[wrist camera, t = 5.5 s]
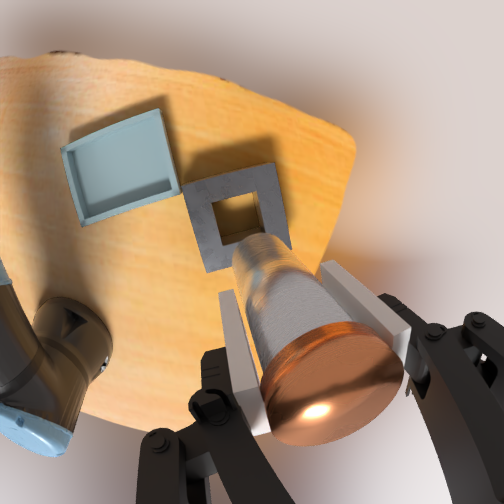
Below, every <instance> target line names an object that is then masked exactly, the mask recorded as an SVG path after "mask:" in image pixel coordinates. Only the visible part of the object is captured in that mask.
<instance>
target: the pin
mask: <svg viewBox="0 0 504 504" xmlns="http://www.w3.org/2000/svg"><path fill="white" fill-rule="evenodd" d="M232 267H233V271H234V274H235V278H236V281H237V285H238V288H239V292H240V296H241V299H242V303H243V306H244V310H245V313H246V317H247V320H248V323H249V327H250V330H251V334H252V337H253V340H254V344H255V347H256V351H257V354H258V357H259V361H260V364H261V367H262V371H263V376H262V379H261V383H260V390H261V394H262V398H263V401H264V408H265V412H266V416H267V419H268V423H269V426H270V430H271V432H272V434H273V435H274V436H275V437H276V438H277V439H278V440H279V441H281V442H283V443H286V444H289V445H294V446H315V445H321V444H325V443H328V442H332V441H335V440H338V439H341V438H343V437H345V436H348V435H350V434H352V433H354V432H355V431H357V430H359V429H360V428H362V427H364V426H365V425H367V424H368V423H370V422H371V421H372V420H373V419H375V418H376V417H377V416H378V415H379V414H380V413H381V412H382V411H383V410H384V409H385V408H386V407H387V406H388V405H389V404H390V402H391V401H392V400H393V398H394V397H395V396H396V394H397V392H398V390H399V388H400V386H401V384H402V380H403V376H404V366H403V362H402V360H401V359H400V357H399V356H398V355H397V354H396V353H395V352H394V351H393V350H392V349H391V347H390V346H389V345H388V344H387V343H386V342H385V341H384V340H383V339H382V338H381V337H380V336H379V334H378V333H377V332H376V331H375V330H374V329H373V328H371V327H370V326H368V325H366V324H363V323H359V322H355V321H354V320H353V318H352V317H351V316H350V315H349V314H348V313H347V312H346V311H345V309H344V308H343V307H342V306H341V305H340V304H339V303H338V302H337V300H336V299H335V298H334V297H333V296H332V295H331V294H330V293H329V292H328V290H327V289H326V288H325V287H324V286H323V285H322V284H321V283H320V282H319V281H318V279H317V278H316V277H315V276H314V275H313V274H312V273H311V272H310V271H309V270H308V269H307V268H306V266H305V265H304V264H303V263H302V262H301V261H300V260H299V259H298V258H297V257H296V256H295V255H294V254H293V252H292V251H291V250H290V249H289V248H288V247H287V246H286V245H285V244H284V243H283V242H282V241H281V240H280V239H279V238H278V237H276V236H274V235H272V234H268V233H256V234H252V235H250V236H248V237H246V238H244V239H243V240H242V241H241V242H240V243H239V244H238V245H237V247H236V249H235V250H234V253H233V257H232Z"/></svg>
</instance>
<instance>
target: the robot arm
mask: <svg viewBox="0 0 504 504" xmlns="http://www.w3.org/2000/svg"><path fill="white" fill-rule="evenodd" d="M320 269H321V275H322V284H323V286H324V287H325V288H326V289H327V290H328V292H329V293H330V294H331V295H332V296H333V297H334V298H335V299H336V300H337V302H338V303H339V304H340V305H341V306H342V307H343V308H344V309H345V311H346V312H347V313H348V314H349V315H350V316H351V317H352V318H353V320H354V321H355V322H359V323H363V324H366V325H368V326H370V327H371V328H373V329H374V330H375V331H376V332H377V333H378V334H379V336H380V337H381V338H382V339H383V340H384V341H385V342H386V343H387V344H388V345H389V346H390V347H391V349H392V350H393V351H394V352H395V353H396V354H397V355H398V356H399V357H400V359H401V360H402V362H403V366H404V369H405V370H406V371H407V373H408V374H409V375H410V376H409V380H408V385H407V388H406V392H405V393H406V397H407V396H408V395H409V392H410V389H411V390H412V394H413V395H414V397H415V399H416V402H417V404H418V407H419V409H420V411H421V414H422V416H423V419H424V421H425V423H426V426H427V429H428V431H429V434H430V436H431V439H432V442H433V444H434V447H435V450H436V453H437V455H438V458H439V461H440V464H441V467H442V470H443V473H444V476H445V479H446V482H447V486H448V489H449V492H450V495H451V499H452V503H453V504H504V327H503V326H502V325H500V324H499V323H498V322H496V321H495V320H494V319H492V318H491V317H489V316H488V315H486V314H484V313H482V312H471V313H469V314H467V315H466V316H465V319H464V323H463V325H461V326H457V327H453V328H450V329H447V328H446V327H445V326H444V325H441V324H438V323H430V324H427V323H426V322H425V321H424V320H422V319H421V318H420V317H419V316H417V315H416V314H415V313H414V312H413V311H412V310H410V309H409V308H407V306H405V305H404V304H402V302H401V301H399V300H398V299H397V298H396V297H394V296H391V295H388V294H386V293H384V294H382V295H379V296H376V295H374V294H373V293H372V292H371V291H370V290H369V289H368V288H366V287H365V286H364V285H363V284H361V283H360V282H359V281H358V280H357V279H356V278H354V277H353V276H352V275H351V274H350V273H348V272H347V271H346V270H345V269H344V268H342V267H341V266H340V265H339V264H338V263H337V262H335V261H334V260H330V261H327V262H324V263H320ZM218 294H219V302H220V310H221V317H222V324H223V331H224V338H225V345H226V347H222V348H218V349H214V350H210V351H206V352H205V353H204V355H203V357H202V359H201V378H202V380H201V383H202V389H200V390H198V391H197V392H196V393H195V394H194V395H193V396H192V397H191V398H190V401H189V403H188V407H189V411H190V412H191V414H192V415H193V417H194V418H195V420H196V421H195V422H194V423H193V424H191V425H190V426H188V427H186V428H184V429H181V430H179V431H177V432H174V431H172V430H170V429H168V428H158V429H154V430H152V431H150V432H149V433H148V434H146V436H145V437H144V438H143V440H142V443H141V448H140V457H139V467H138V478H137V492H136V504H212V503H211V494H210V484H209V476H210V475H213V474H215V473H217V472H218V474H219V476H220V479H221V481H222V483H223V485H224V487H225V489H226V492H227V494H228V496H229V498H230V500H231V502H232V504H295V502H294V501H293V499H292V498H291V497H290V495H289V494H288V492H287V491H286V489H285V488H284V486H283V484H282V483H281V481H280V480H279V479H278V477H277V475H276V474H275V472H274V470H273V469H272V467H271V466H270V464H269V463H268V461H267V459H266V458H265V456H264V454H263V453H262V451H261V449H260V448H259V446H258V444H257V442H256V441H255V439H254V437H253V436H256V435H260V434H264V433H267V432H271V430H270V426H269V423H268V419H267V416H266V412H265V408H264V401H263V398H262V394H261V390H260V381H259V377H258V374H257V370H256V367H255V363H254V359H253V356H252V352H251V348H250V345H249V341H248V337H247V333H246V330H245V327H244V323H243V320H242V317H241V313H240V310H239V307H238V303H237V300H236V297H235V293H234V290H233V289H231V290H227V291H224V292H220V293H218ZM482 354H484V355H486V356H487V358H486V361H483V360H481V356H482ZM111 355H112V340H111V337H110V334H109V332H108V330H107V328H106V327H105V325H104V324H103V322H102V321H101V320H100V318H99V317H98V316H97V315H96V314H95V313H94V312H92V311H91V310H90V309H89V308H87V307H86V306H84V305H83V304H81V303H79V302H77V301H75V300H72V299H69V298H63V297H57V298H52V299H50V300H48V301H46V302H45V303H44V304H43V305H42V306H41V307H40V308H39V310H38V311H37V313H36V314H35V317H34V320H33V324H32V326H31V324H30V323H29V321H28V319H27V317H26V315H25V313H24V311H23V309H22V306H21V304H20V302H19V300H18V298H17V295H16V293H15V291H14V288H13V286H12V280H11V279H10V278H9V276H8V274H7V272H6V270H5V267H4V265H3V263H2V260H1V258H0V432H1V433H2V434H3V435H5V436H6V437H7V438H9V439H10V440H12V441H13V442H15V443H16V444H18V445H20V446H22V447H23V448H25V449H27V450H30V451H32V452H34V453H37V454H40V455H44V456H48V457H58V456H61V455H63V454H64V453H65V452H66V449H67V447H68V444H69V441H70V439H71V438H72V437H73V432H74V429H75V425H76V422H77V418H78V415H79V412H80V409H81V406H82V403H83V400H84V397H85V394H86V391H87V388H88V386H89V384H90V383H92V382H93V381H94V380H95V379H96V378H97V377H98V376H99V375H100V374H101V373H102V372H103V371H104V370H105V369H106V367H107V365H108V363H109V361H110V358H111ZM252 434H253V435H252Z"/></svg>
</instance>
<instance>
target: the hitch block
mask: <svg viewBox="0 0 504 504" xmlns="http://www.w3.org/2000/svg"><path fill="white" fill-rule="evenodd" d="M181 188H182V192H183V195H184V199H185V202H186V206H187V209H188V213H189V216H190V220H191V223H192V227H193V230H194V234H195V237H196V240H197V244H198V247H199V250H200V253H201V257H202V260H203V263H204V266H205V269H206V272H207V273H209V272H213V271H217V270H220V269H224V268H228V267H231V266H232V257H233V253H234V250H235V249H236V247H237V245H238V244H239V243H240V242H241V241H242V240H243V239H244V238H246V237H248V236H250V235H252V234H256V233H268V234H272V235H274V236H276V237H278V238H279V239H280V240H281V241H282V242H283V243H284V244H285V245H286V246H287V247H288V248H289V249H290V250H292V247H291V241H290V236H289V231H288V225H287V220H286V215H285V210H284V205H283V200H282V195H281V191H280V186H279V181H278V176H277V172H276V167H275V163H272V162H266V163H262V164H257V165H253V166H248V167H244V168H240V169H236V170H232V171H228V172H224V173H220V174H216V175H212V176H209V177H205V178H201V179H198V180H194V181H190V182H187V183H184V184H183V185H182V186H181ZM251 192H252V194H253V199H254V203H255V207H256V212H257V216H258V221H259V225H260V227H257V228H253V229H250V230H246V231H242V232H238V233H235V234H231V235H227V236H224V237H221V236H220V232H219V229H218V225H217V221H216V217H215V214H214V210H213V206H212V202H216V201H220V200H224V199H227V198H231V197H235V196H239V195H243V194H247V193H251Z"/></svg>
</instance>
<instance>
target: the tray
mask: <svg viewBox="0 0 504 504" xmlns="http://www.w3.org/2000/svg"><path fill="white" fill-rule="evenodd" d="M60 149H61V154H62V159H63V163H64V167H65V172H66V176H67V180H68V183H69V187H70V191H71V194H72V198H73V201H74V205H75V208H76V211H77V214H78V218H79V221H80V224H81V227H84V226H87V225H90V224H92V223H95V222H98V221H100V220H103V219H106V218H109V217H112V216H114V215H117V214H120V213H123V212H126V211H129V210H132V209H135V208H138V207H141V206H144V205H147V204H150V203H153V202H156V201H160V200H163V199H166V198H169V197H173V196H176V195H179V194H181V193H182V190H181V186H180V182H179V179H178V175H177V171H176V167H175V163H174V160H173V156H172V152H171V148H170V144H169V140H168V135H167V131H166V127H165V123H164V118H163V114H162V111H161V110H160V109H159V108H157V109H154V110H151V111H148V112H145V113H142V114H139V115H137V116H134V117H131V118H128V119H126V120H123V121H120V122H118V123H115V124H113V125H110V126H108V127H105V128H103V129H101V130H98V131H96V132H94V133H92V134H89V135H87V136H85V137H83V138H81V139H78V140H76V141H74V142H72V143H70V144H68V145H66V146H64V147H62V148H60Z"/></svg>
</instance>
